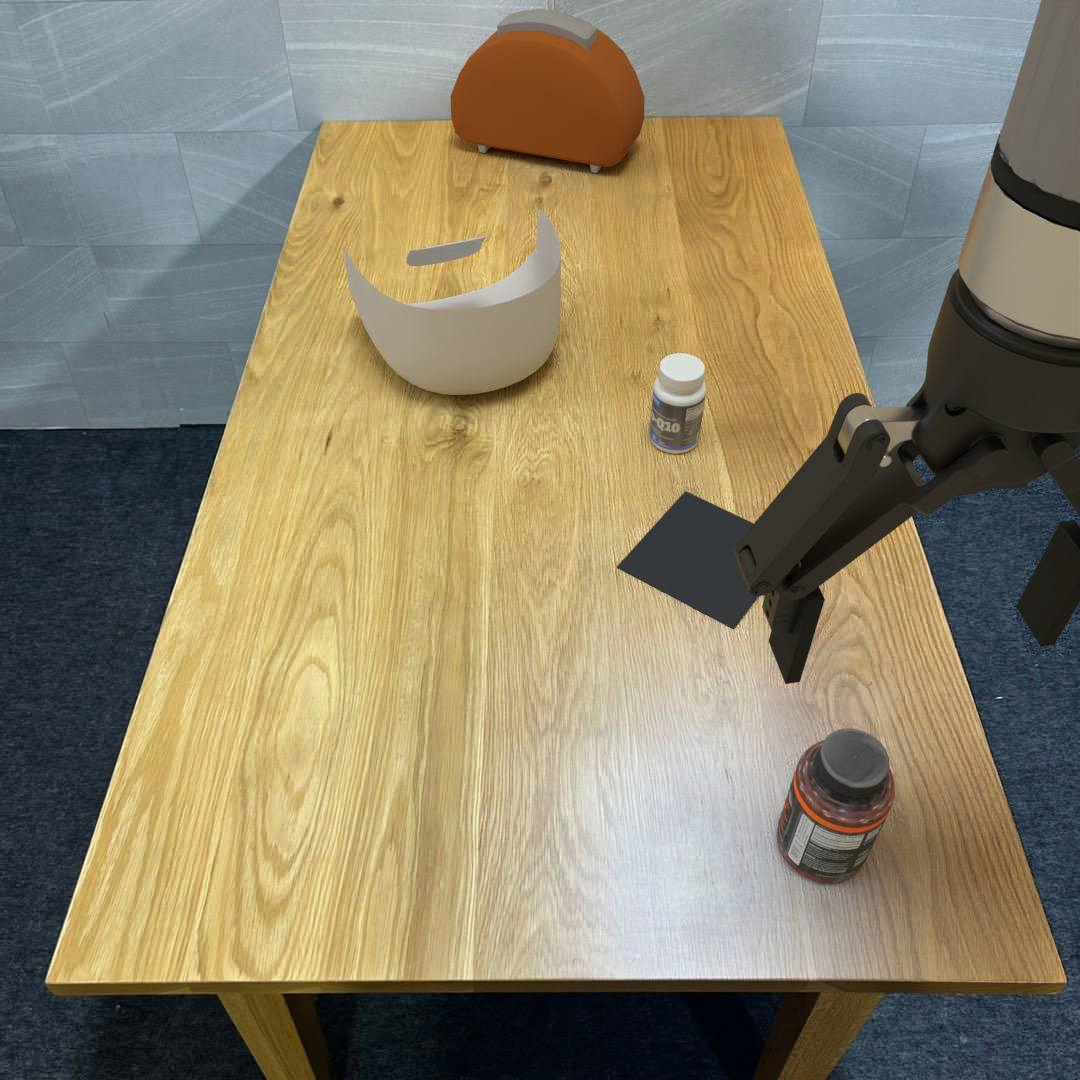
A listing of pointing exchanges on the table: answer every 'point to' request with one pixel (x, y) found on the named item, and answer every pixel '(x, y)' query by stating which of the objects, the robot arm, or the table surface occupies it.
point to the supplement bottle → (836, 806)
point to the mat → (695, 559)
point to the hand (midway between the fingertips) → (910, 643)
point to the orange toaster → (549, 91)
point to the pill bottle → (678, 403)
